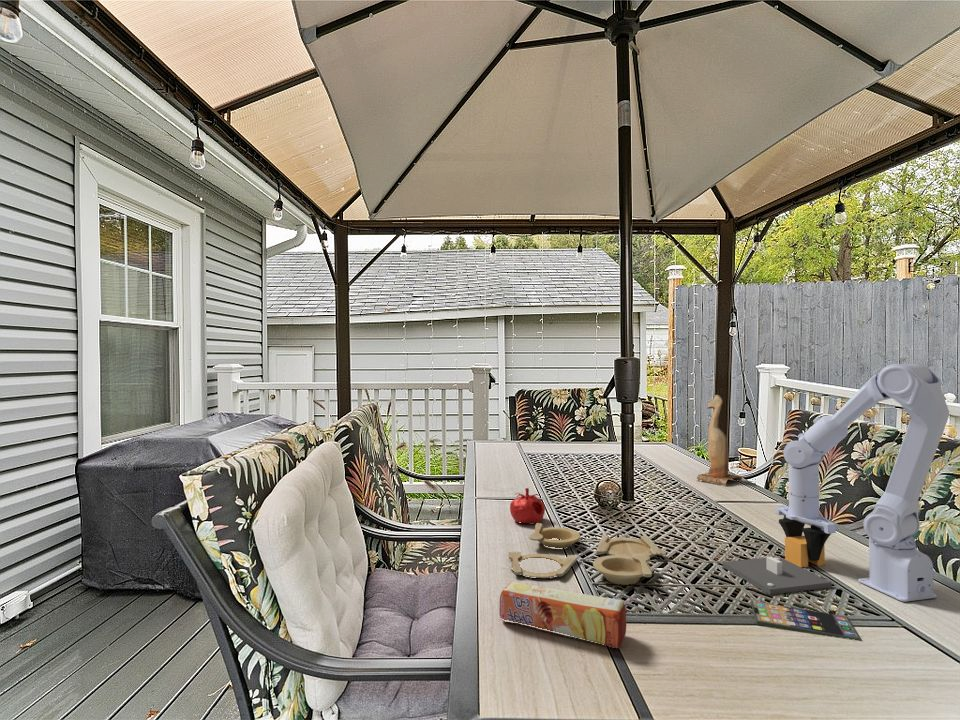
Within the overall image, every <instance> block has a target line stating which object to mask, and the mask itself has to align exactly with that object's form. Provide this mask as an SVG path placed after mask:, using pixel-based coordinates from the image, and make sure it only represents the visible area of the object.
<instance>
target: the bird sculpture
mask: <svg viewBox="0 0 960 720" xmlns="http://www.w3.org/2000/svg"><path fill="white" fill-rule="evenodd" d="M723 404H724V401H723V398H722V397H721V395H719V394H715V395H714V397H713V399H711V400H710V401H708V403H707V405H706V408H707V409H713V412H712V414H711V416H710V417H711V418H710V421H709V423H708V431H707V455H708V460H709V463H711V464H710V466H709V469H708V472H705V473H701V474H698V475H697V476H696V480H697V479H698V480H702V481H706V482H710V483H709V484H712V483H713V485H716V484H717V485H718V486H721V485H724V486H723V487H726V486H727V482H728V480H729V481H730V479H731V480H733V481H734V480H735V481H738V482H741V481H742V480H743V477H742V476H741V475H734V474H729V441H728V437H727V435H726V434H725V432H724V431H723V430H722V429H721V428H720V427H719V420H720V413H721V410H722V407H723ZM702 481H701V482H702ZM706 482H705V483H706Z"/></svg>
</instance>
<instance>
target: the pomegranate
mask: <svg viewBox="0 0 960 720" xmlns="http://www.w3.org/2000/svg"><path fill="white" fill-rule="evenodd" d="M524 490H525V495H524V494H522V493H519V492H517V493H516V497H515V498H514V499H513V500H511V502H510V505H509V512H510V515H511V517H512V519H513V520H514V521H515V522H516V521H517V522H516V523H518V522H521V523H538V522H539V523H541V521H542V520H543V519H544V515H545V511H546V506H545V504H544V502H542V499H540V498H538V497H537V496H539V497H541V495H540V494H537V493H536V494H530V488H529V487H525V489H524Z"/></svg>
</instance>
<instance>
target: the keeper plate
mask: <svg viewBox="0 0 960 720" xmlns="http://www.w3.org/2000/svg"><path fill="white" fill-rule="evenodd" d="M722 568H724V569H726V570H728V571H729V572H731V573H733V574H734V575H736V576H737V577H739V578H741V579H742V580H744V581H746V582H748V583H750V584H751V585H753V586H754V587H757V588H758V589H760V590H762V591H763V592H765V593H766V594H768V595H778V594H786V593H787V594H788V593H796V592H803V591H811V590H813V591H814V590H821V589H829V588H832V584H833V583H832V581H830V580H828V579H825V578H824V577H821V576H819V575H817V574H815V573H813V572H812V571H809V570H807V569H805V568H804V567H799V566H797V565H795V564H793V563H791V562H789V561H787V560H785V558H783V557H781V556H765V557H759V558H757V557H756V558H749V559H741V560H740V559H739V560H730V561H722Z"/></svg>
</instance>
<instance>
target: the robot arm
mask: <svg viewBox="0 0 960 720" xmlns="http://www.w3.org/2000/svg"><path fill="white" fill-rule="evenodd" d="M941 382H942V381H941V378H940V377H938V376H937V375H936V374H935V372H934V371H933V370H932V369H931V368H929V366H926V365H924V364H921V363H918V362H917V363H916V362H913V363H904V364H903V363H893V364H889V365H886V366H884V367H883V368H882V369H881V370H880V371H879V373H877V374H874V375H873V376H872V377H870V378H869V379H868V380H867V381H866V382H865V383H864V384H863V385H862V386H861V388H859V389H858V390H857V392H856V391H855V392H856V393H855V394H853V395H852V396H851V397H850V398H849V399H848V400H847V401H846V402H845V403H844V404H843V405H842V407H840V408H839V409H838V410H837V411H836V412H835V413H834V414H833V415H823V416H821V417H820V416H819V417H816V418H814V419H813V420H812V422H813V425H812V426H810V427H809V428H808V429H807V430H806V431H805V432H801V433H798V435H797V437H798V440H792V441H788V442H787V444H786V445H785V446H784V449H783V451H782V452H783V454H782V455H783V458H784V460H785V461H786V463H787V464H788V506H787V505H783V504H782V505H781V504H780V505H776V506H775V514H776V515H778V516H783V518H780V519H778V524H779V525H780V526H781V528H782V530H783V532H784V534H785V537H795V536H805V539H806V543H807V553H808V559H809V560H810V561H818V560H819V558H820V555H821V552H822V549H823V546H824V547H825V544H826V542H827V541H828V539H829V538H830V536H831V535H832V534H836V533H837V527H836V526H837V524H836V523H834V522H832V521H830V520H828V519H826V518H825V517H823V516H821V515H820V473H819V472H820V470H819V468H820V467H819V465H820V464H821V463H822V462H823V460H824V459H825V455H826V454H827V453H828V452H830V451H831V450H833V448H835V447H836V445H838V444H839V443H840V442H841V441H843V440H844V439H845V438H846V437H847V436H848V431H849V430H848V427H849V426H850V425H851V424H852V423H854V422H855V421H856V420H858V419H859V418H860V417H861V416H862V415H864V414H865V413H866V412H868V410H870V409H871V408H873V407H874V406H876V404H878V403H879V402H882V401H883V402H884V401H885V400H890V399H892V400H894V401H896V402H897V403H898V404H900V406H901V407H902V408H903V409H904V411H906V413H907V414H908V415H909V417H910V420H909V422H908V425H907V428H906V430H905V433H904V436H903V439H902V442H901V445H900V447H899V448H900V449H899V451H898V454H897V456H896V459H895V462H894V464H893V465H894V466H893V468H892V470H891V474H890V477H889V480H888V481H887V486H886V488H885V491H884V492H883V494H882V495H881V497H880V498H879V499H878V500H877V502H876V504H875V506H874V509H873V510H872V511H871V512H869V514H867V515H866V516H865V518H864V519H863V523H862V524H863V529H864V532H865V534H866V535H867V537H868V560H869V561H868V562H869V563H868V565H869V567H868V569H869V571H868V572H869V573H868V574H869V575H868V576H869V577H862V578H858V579H857V581H858V582H859V583H861V584H864V585H866V586H867V587H870V588H872V589H874V590H876V591H878V592H881V593H883V594H884V595H887V596H889V597H891V598H894V599H896V600H899V601H901V602H906V603H907V602H911V601H920V600H929V599H936V598H937V597H938V595H937V594H935V593H934V565H933V561H932V560H931V558H930V556H929V555H928V554H925V553H923V552H922V551H920V550H919V549H918V548H917V545H916V541H915V538H914V537H913V536H914V535H916V534H917V533H918V532H919V530H920V527H921V526H920V525H921V523H920V518H919V512H920V509H921V506H920V503H919V499H920V495H921V494H922V491H923V489H924V486H925V482H926V480H927V477H928V475H929V472H930V469H931V466H932V463H933V460H934V459H935V455H936V453H937V449H938V447H939V444H940V442H941V439H942V436H943V433H944V431H945V428H946V426H947V423H948V420H949V417H950V411H949V407H948V404H947V401H946V399H945V396H944V393H943V390H942V387H941V385H942V383H941ZM805 525H806V526H809V527H805Z"/></svg>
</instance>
